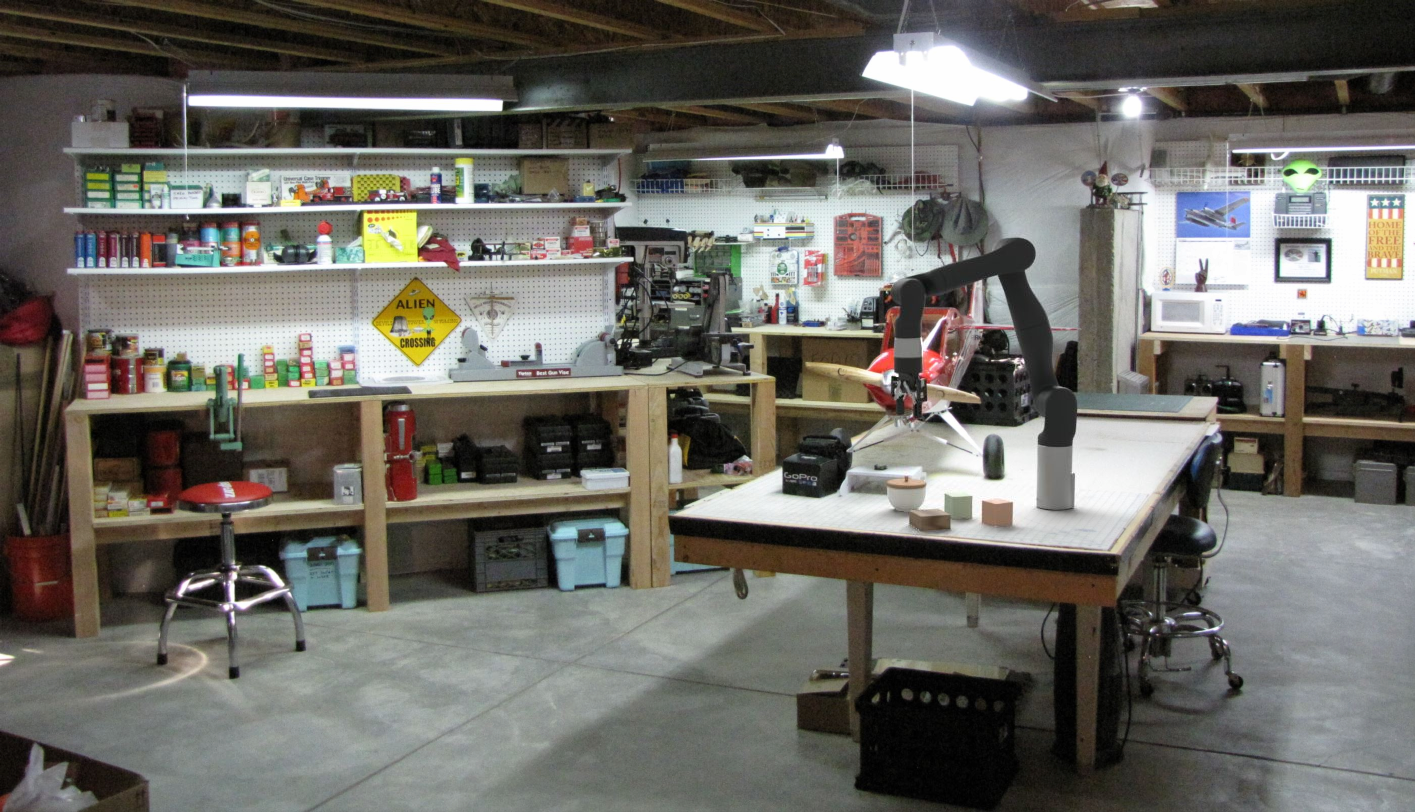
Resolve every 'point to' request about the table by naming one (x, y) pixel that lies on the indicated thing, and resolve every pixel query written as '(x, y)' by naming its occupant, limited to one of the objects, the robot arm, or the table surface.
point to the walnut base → (929, 519)
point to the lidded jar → (906, 493)
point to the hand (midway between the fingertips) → (908, 416)
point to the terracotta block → (997, 512)
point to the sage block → (958, 505)
